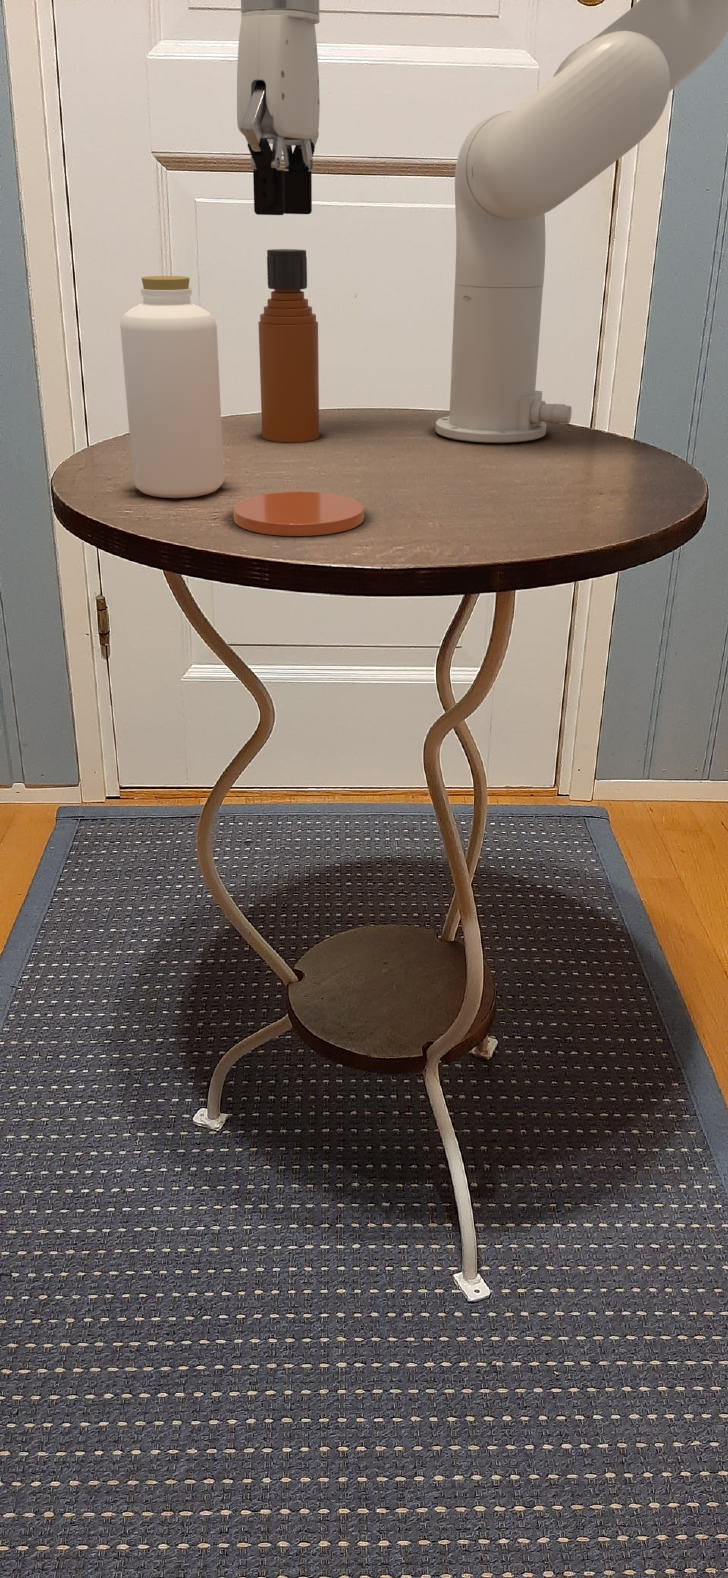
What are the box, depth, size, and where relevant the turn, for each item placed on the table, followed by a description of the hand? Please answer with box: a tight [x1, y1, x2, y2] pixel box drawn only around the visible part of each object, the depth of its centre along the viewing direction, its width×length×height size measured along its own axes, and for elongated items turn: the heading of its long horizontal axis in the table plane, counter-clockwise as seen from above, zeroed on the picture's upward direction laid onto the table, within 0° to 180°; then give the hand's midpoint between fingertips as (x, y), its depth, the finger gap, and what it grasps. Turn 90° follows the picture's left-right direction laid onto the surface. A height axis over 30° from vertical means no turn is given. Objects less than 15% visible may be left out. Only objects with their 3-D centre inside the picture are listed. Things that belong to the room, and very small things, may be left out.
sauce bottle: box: [258, 289, 320, 443], centre depth 125 cm, size 6×6×18 cm
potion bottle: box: [119, 275, 225, 499], centre depth 102 cm, size 8×8×18 cm
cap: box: [266, 248, 308, 290], centre depth 121 cm, size 4×4×4 cm
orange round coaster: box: [232, 491, 365, 537], centre depth 97 cm, size 11×11×1 cm
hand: (283, 212), depth 118 cm, fingers open, 5 cm apart
